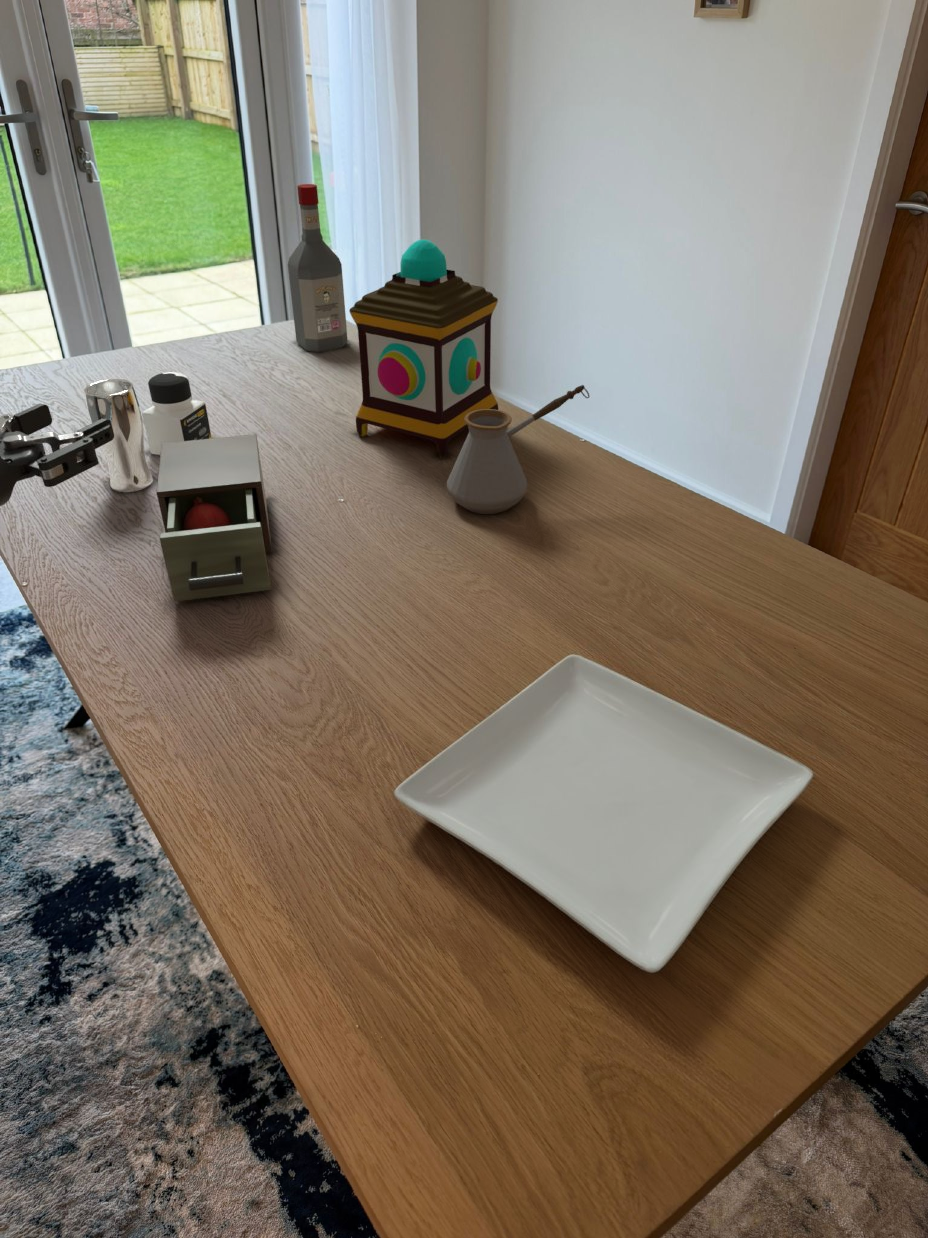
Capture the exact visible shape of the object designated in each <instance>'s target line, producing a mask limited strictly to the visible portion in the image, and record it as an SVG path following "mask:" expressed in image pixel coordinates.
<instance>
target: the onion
mask: <svg viewBox="0 0 928 1238" xmlns="http://www.w3.org/2000/svg"><path fill="white" fill-rule="evenodd" d="M193 502H194V506H193V507H192V508H191V509H190V510H189V512H188V513H187V515H186V517H185V521H184V531H186V530H194V529H203V528H212V527H221V526H230V525H232V524H231V520H230V518H229V516H228V515H227V514H226V512H224V511H223V510H222V509H221V508H220V507H218V506H216V505H214V504H209V503H205V502H203V500H202V498H198V497H197V498H196V499H195V500H194V501H193Z"/></svg>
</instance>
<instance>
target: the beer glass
mask: <svg viewBox="0 0 928 1238" xmlns="http://www.w3.org/2000/svg"><path fill="white" fill-rule="evenodd" d="M83 392H84V395H85V396H84V397H85V401H86V402H85V403H86V408H87V413H88V417H89V421H90V424H92V423H94V422H96V421H98V420H100V419H102V418H103V419H108V420H110V421H111V424H112V428H113V432H114V439H113V440H112V441H110V442H108V443H106V444H104V445H102V446H100V447H99V448H100V449H101V451H102V453H103V455H104V457H105V459H106V462H107V465H108V471H109V485H110V488H111V489H112V490H113V491H115V492H119V493H131V492H133V493H134V492H137V491H141V490H144V489H146V488H148V487H150V486H151V485H152V484H153V481H154V478H153V475H152V473H151V471H150V469H149V466H148V464H147V459H146V454H145V436H144V435H145V434H144V421H143V416H142V410H141V407H140V402H139V400H138V396H137V394H136V390H135V387H134V383H133V382H132V381H130V380H128V379H124V378H123V379H122V378H109V379H104V380H103V379H102V380H98V381H95V382H92V383H90V384H88V385H86V386H85V388H84V389H83Z"/></svg>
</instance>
